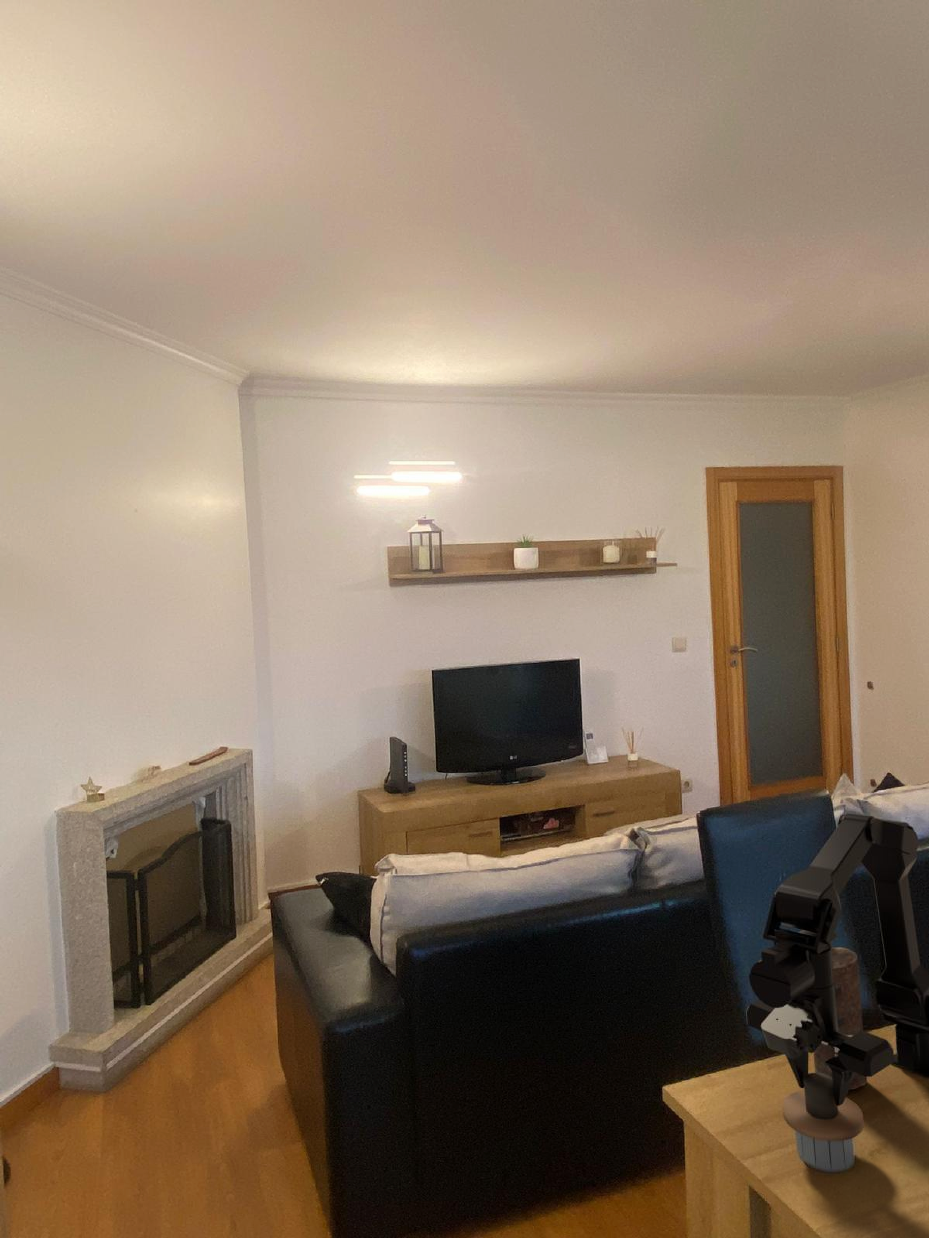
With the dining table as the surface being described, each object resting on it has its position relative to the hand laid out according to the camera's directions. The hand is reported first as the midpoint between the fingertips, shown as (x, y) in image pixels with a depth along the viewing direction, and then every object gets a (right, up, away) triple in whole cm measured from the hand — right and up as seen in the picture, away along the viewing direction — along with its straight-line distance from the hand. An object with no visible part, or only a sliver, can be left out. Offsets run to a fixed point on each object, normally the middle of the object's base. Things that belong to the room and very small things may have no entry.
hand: (821, 1095), depth 113 cm
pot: (+1, -8, 0) cm, 8 cm away
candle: (+10, -7, +16) cm, 20 cm away
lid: (0, -3, 0) cm, 3 cm away
